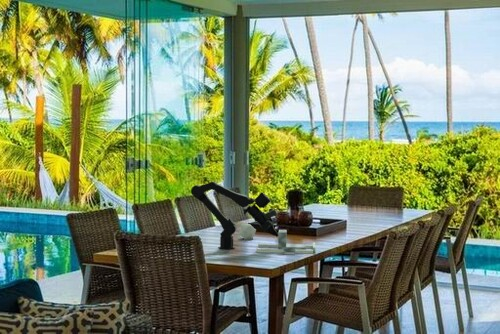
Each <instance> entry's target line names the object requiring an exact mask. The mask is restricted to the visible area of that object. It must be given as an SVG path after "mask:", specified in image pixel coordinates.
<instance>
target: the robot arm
mask: <svg viewBox="0 0 500 334" xmlns="http://www.w3.org/2000/svg"><path fill="white" fill-rule="evenodd" d="M212 190H213V191H215V192H216V193H218V194H221V195H222V196H225V197H226V198H228V199H231V201H233V202H234V203H235V204H237V205H238V206H240V207H241V208H243V215H246V214H248V215H249V216H250V217H251V218H252V219H253V220H254V222H256V223H257V224H258V225H259V227H260V231H261V232H262V233H268V234H270V235H272V236H274V237H276V238H278V232H277V230H276V229H275V227H274V222H273V221H274V219H273V217H276V216H278V212H277V210H276V209H275V208H272V207H271V208H269V209H268V211H267V212H264V211H262V210H261V209H264V208H265V207H267V206H268V205H269V204H270V203H271V202H272V200H271V199H270V197H269V196H268V195H266V193H264V192H263V191H261V192H260V193H259V194H258V195H257V196H256V197H255V198H252V197H249V196H248V195H246V194H242V193H238V192H235V191H233V190H231V189H229V188H227V187H225V186H223V185H221V184H219V183H217V182H216V181H210V182H208V183H204V184H195V185H193V186H192V187H191V189H190V194H191V195H192V196H193V197H194V198H196V199H197V200H198V201H200V202H201V203H203V205H204V206H205V207H206V208H207V209H208V210H209V212H210V213H211V214H212V215H213V217H215V218H216V220H217V221H218V222H219V223H220V226H221V227H222V229H223V230H222V231H221V232H220V238H219V243H220V244H219V246H218V247H217V249H221V250H231V249H232V250H233V249H236V247H235V246H234V236H233V235H234V234H235V232H237V224H236V222H235V221H234V220H233V218H231V217H229V218H228V217H226V215H224V214H223V213H222V211H221V210H220V209H219V208H218V207H217V205H216V204H215V203H214V202H213V201H212V200H211V199H210V198H209V196H208V195H207V192H208V191H212Z"/></svg>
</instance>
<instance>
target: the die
mask: <svg viewBox="0 0 500 334" xmlns="http://www.w3.org/2000/svg"><path fill="white" fill-rule="evenodd" d="M256 231H257V229H256V228H254V226H252V225H251V224H250V223H248V224H241V226H240V229H239V232H238V234H239V235H240V236H241V237H242V238H243V239H244V240H253V239H254V237H255V234H256Z"/></svg>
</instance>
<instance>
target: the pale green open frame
mask: <svg viewBox="0 0 500 334" xmlns="http://www.w3.org/2000/svg"><path fill="white" fill-rule="evenodd" d="M305 245H306V250H295V254H314V253H315V254H316V242H312V244H305ZM257 247H258V248H256V249H255V253H272V254H273V253H279V254H280V253H281V254H283V251H284V249H278V243H277V244H275V243H273V244H272V243H258V244H257Z"/></svg>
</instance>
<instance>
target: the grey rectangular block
mask: <svg viewBox="0 0 500 334" xmlns="http://www.w3.org/2000/svg"><path fill="white" fill-rule="evenodd" d="M277 233H278V237H277V244H278V248H277V249H284V251H283V252H295V250H307V248H306V245H307V244H299V243H298V244H295V243H287V241H288V240H287V235H288V234H287V233H288V231H287V229H279V230H278V232H277Z"/></svg>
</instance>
